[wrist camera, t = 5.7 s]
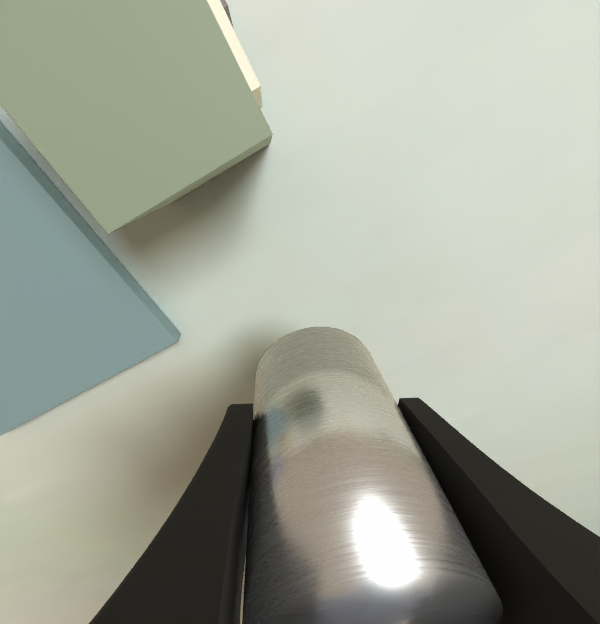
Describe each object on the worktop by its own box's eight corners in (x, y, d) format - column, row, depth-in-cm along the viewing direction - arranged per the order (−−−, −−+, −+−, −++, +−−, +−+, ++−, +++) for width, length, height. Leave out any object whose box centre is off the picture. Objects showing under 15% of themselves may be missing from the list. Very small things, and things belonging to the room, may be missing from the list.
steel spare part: (365, 421, 13) (462, 677, 6) (256, 425, 12) (246, 706, 6) (382, 326, 11) (544, 560, 4) (253, 327, 10) (232, 590, 4)
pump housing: (170, 203, 14) (108, 233, 8) (37, 12, 10) (-202, -138, 5) (279, 137, 13) (288, 124, 7) (170, -88, 10) (54, -384, 4)
